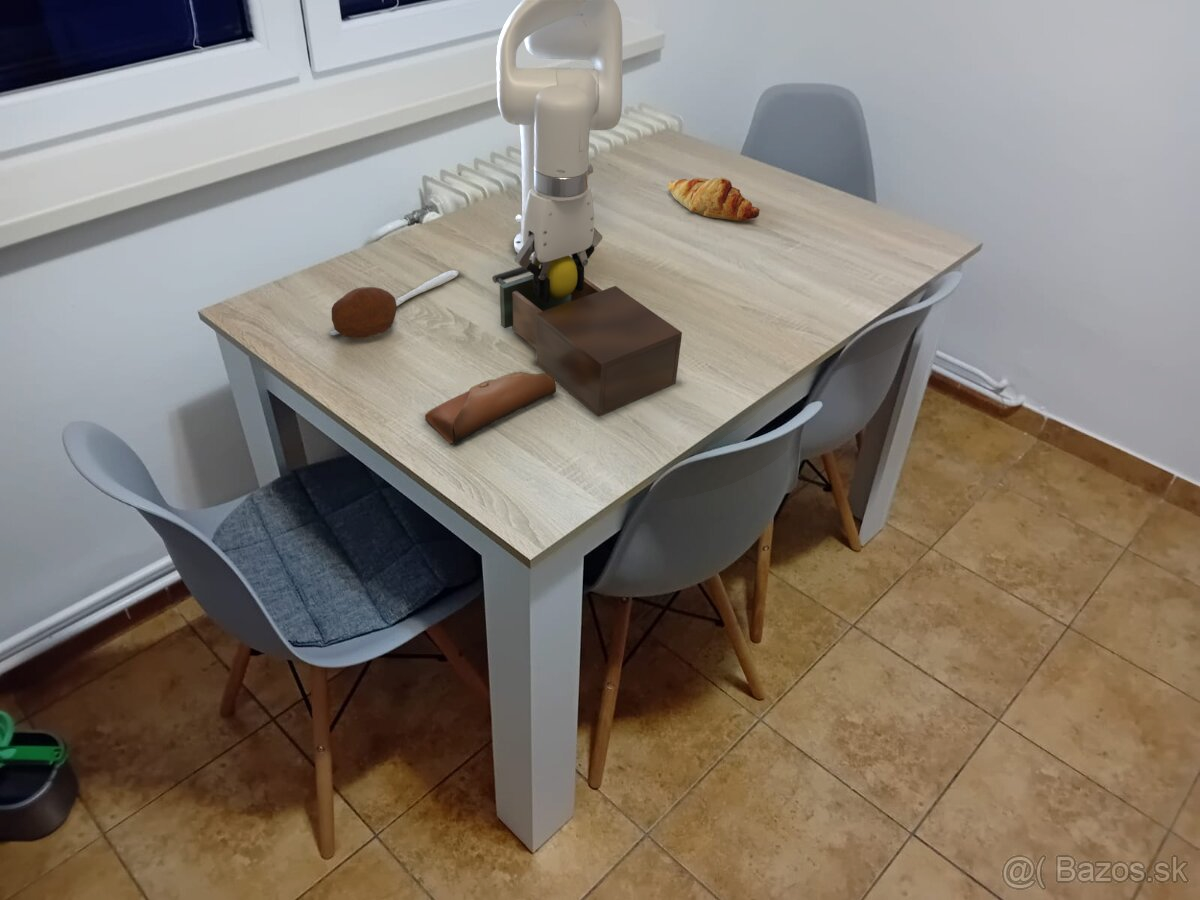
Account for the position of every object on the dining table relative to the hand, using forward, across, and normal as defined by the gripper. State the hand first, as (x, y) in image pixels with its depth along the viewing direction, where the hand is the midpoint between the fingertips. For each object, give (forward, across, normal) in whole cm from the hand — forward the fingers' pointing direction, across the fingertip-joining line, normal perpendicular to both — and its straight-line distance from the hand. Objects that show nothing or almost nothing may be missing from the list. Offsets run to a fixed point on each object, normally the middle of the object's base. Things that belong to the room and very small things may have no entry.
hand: (558, 291), depth 139 cm
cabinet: (+8, 0, +12) cm, 15 cm away
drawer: (+7, 0, -2) cm, 7 cm away
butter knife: (+8, +16, -22) cm, 29 cm away
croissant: (+8, -52, -21) cm, 57 cm away
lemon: (+2, 0, 0) cm, 2 cm away
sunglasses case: (+8, +19, +10) cm, 23 cm away
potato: (+8, +25, -17) cm, 31 cm away
